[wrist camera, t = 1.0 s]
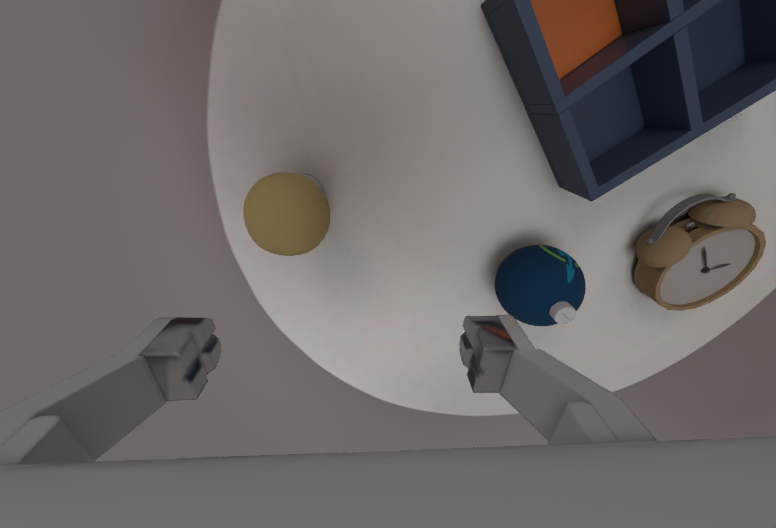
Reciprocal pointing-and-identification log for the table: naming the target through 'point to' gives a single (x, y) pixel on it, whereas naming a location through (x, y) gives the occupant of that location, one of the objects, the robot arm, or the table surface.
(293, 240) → the light bulb
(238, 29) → the table surface
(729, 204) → the alarm clock
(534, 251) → the christmas ornament
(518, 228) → the table surface
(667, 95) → the navy compartment tray
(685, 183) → the table surface
